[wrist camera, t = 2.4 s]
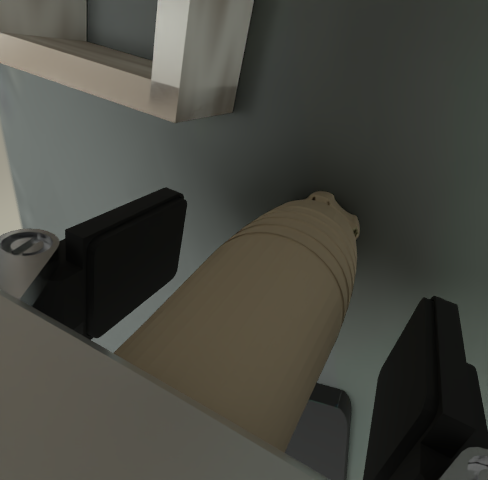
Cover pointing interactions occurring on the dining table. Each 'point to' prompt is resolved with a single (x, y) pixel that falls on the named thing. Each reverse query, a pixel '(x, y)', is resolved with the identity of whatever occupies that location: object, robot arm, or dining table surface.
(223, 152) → the dining table surface
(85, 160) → the dining table surface
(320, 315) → the handle
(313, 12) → the dining table surface
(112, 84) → the wooden wall shelf
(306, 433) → the smart home device
